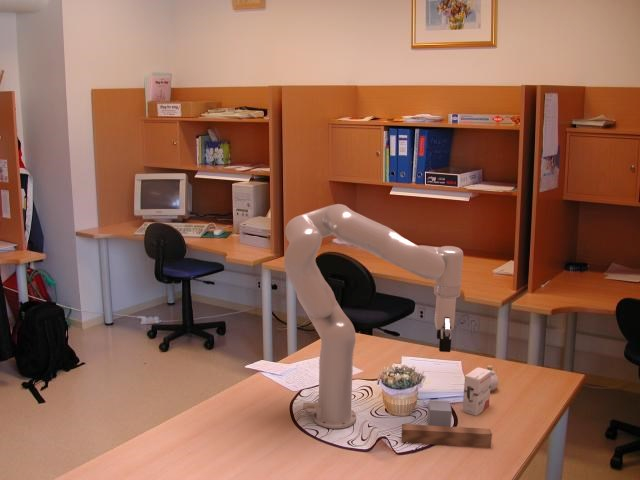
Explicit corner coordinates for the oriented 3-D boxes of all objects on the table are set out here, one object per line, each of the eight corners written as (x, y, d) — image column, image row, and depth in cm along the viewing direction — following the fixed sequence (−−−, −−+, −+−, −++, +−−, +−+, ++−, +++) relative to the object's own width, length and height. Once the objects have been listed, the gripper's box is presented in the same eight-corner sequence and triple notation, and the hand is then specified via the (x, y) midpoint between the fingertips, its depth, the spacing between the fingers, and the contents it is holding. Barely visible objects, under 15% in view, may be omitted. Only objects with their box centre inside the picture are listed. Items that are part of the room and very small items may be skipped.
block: (428, 429, 205) (430, 410, 204) (427, 419, 211) (428, 400, 210) (450, 430, 205) (451, 411, 203) (448, 420, 211) (449, 401, 209)
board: (401, 442, 197) (402, 429, 196) (401, 437, 200) (402, 424, 199) (490, 447, 196) (491, 434, 195) (489, 441, 199) (490, 428, 198)
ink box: (475, 401, 222) (477, 365, 220) (489, 406, 219) (492, 370, 217) (461, 411, 216) (464, 374, 213) (476, 416, 213) (479, 379, 210)
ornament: (490, 384, 234) (493, 355, 232) (504, 394, 228) (506, 364, 225) (474, 387, 232) (476, 358, 230) (487, 397, 225) (490, 367, 223)
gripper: (432, 279, 216) (428, 333, 220) (436, 298, 200) (432, 356, 204) (457, 281, 216) (453, 335, 220) (463, 299, 199) (459, 357, 203)
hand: (443, 345), depth 212 cm, fingers open, 9 cm apart
